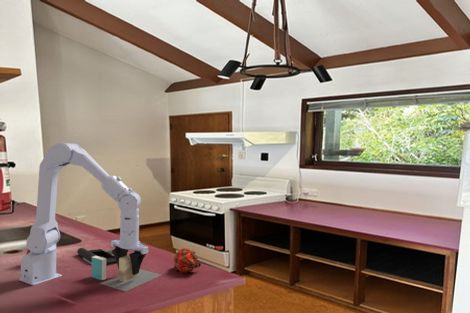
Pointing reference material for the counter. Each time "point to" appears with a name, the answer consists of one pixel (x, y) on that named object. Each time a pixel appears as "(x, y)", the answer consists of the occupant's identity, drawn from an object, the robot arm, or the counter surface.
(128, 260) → the light wooden block
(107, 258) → the door handle
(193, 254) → the dragon fruit
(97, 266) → the tile
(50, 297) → the counter surface
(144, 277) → the mat
